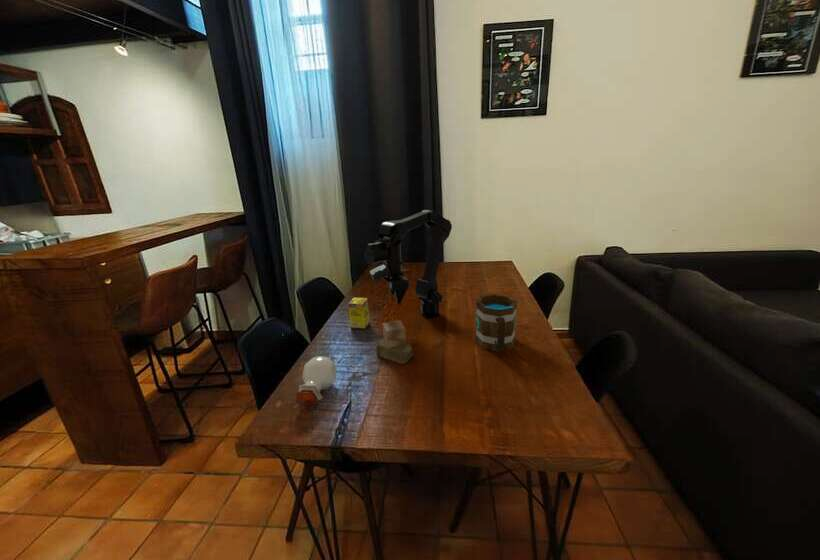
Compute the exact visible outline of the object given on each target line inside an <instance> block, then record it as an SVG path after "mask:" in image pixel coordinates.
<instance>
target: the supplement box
mask: <svg viewBox="0 0 820 560" xmlns="http://www.w3.org/2000/svg"><path fill="white" fill-rule="evenodd" d="M347 306H348V313H349V323H350V329H351V330H360V331H365V330H366V329H367V328H368V326H369V325H370V323H371V321H370V311H369V301H368V297H353V298H351V300H350V301H349V302H348V305H347Z"/></svg>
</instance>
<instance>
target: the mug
mask: <svg viewBox="0 0 820 560" xmlns="http://www.w3.org/2000/svg"><path fill="white" fill-rule="evenodd" d="M475 306H476V317H475V329H476V330H475V331H476V333H475V339H474V342H475V341H476V342H477V343H478V344H477V343H476V342H475V343H476V344H477V345H478V346H479V345H480V346H479V347H480V348H481V349H482V350H483V349H484V350H489V351H493V352H497V353H498V352H499V353H502V352H504V351H508V350H512V349H513V348H514V345H515V343H516V335H515V334H516V325H517V307H518V300H516V299H515V298H513V297H512V296H511V295H505V294H498V293H491V294H486V295H485V294H484V295H480V296H479V297H478V298H477V299H476V300H475Z"/></svg>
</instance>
